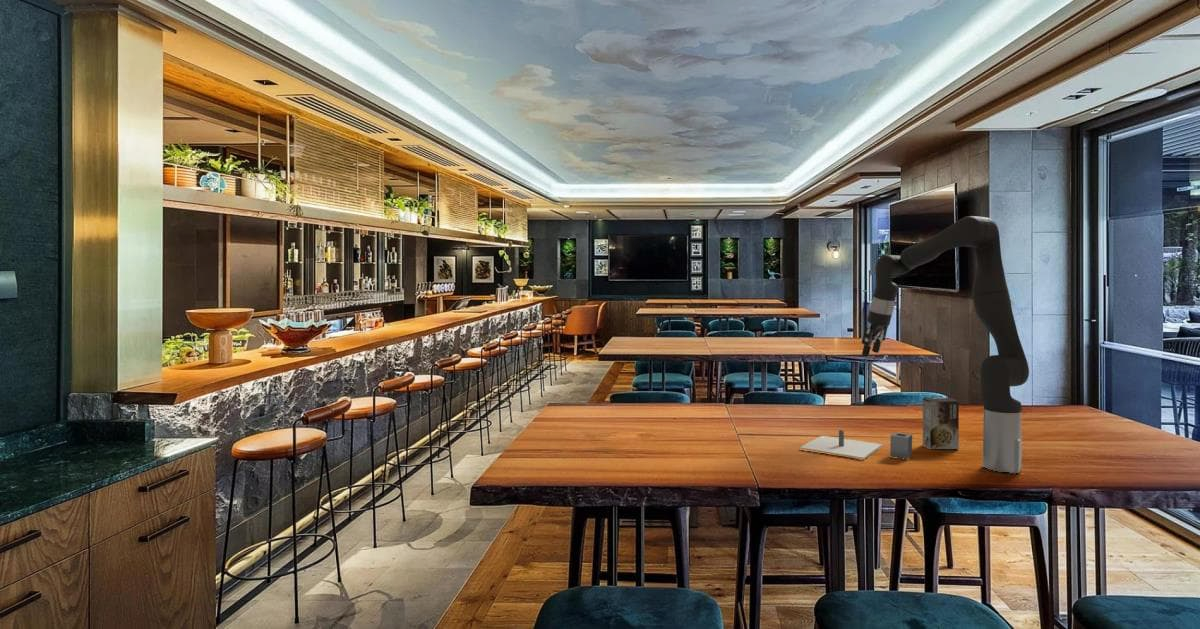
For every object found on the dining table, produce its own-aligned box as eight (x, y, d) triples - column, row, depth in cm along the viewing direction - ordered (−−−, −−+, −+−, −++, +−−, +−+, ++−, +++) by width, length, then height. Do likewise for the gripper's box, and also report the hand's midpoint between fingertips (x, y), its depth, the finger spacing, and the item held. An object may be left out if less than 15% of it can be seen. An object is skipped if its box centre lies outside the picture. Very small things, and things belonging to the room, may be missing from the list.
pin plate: (882, 447, 209) (882, 428, 208) (863, 460, 193) (863, 440, 193) (821, 438, 221) (822, 420, 221) (799, 450, 206) (799, 431, 206)
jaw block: (911, 456, 197) (912, 434, 197) (907, 460, 193) (908, 437, 193) (894, 454, 200) (894, 432, 200) (890, 457, 196) (890, 435, 196)
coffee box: (950, 445, 210) (950, 397, 210) (959, 450, 204) (960, 400, 203) (921, 445, 211) (922, 397, 211) (929, 450, 205) (930, 400, 204)
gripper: (883, 315, 215) (872, 360, 220) (899, 311, 225) (888, 354, 230) (861, 309, 220) (851, 353, 225) (878, 305, 230) (868, 347, 235)
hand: (870, 353), depth 227 cm, fingers open, 8 cm apart
